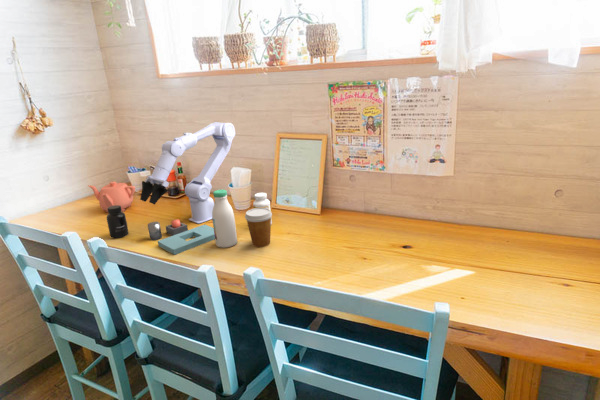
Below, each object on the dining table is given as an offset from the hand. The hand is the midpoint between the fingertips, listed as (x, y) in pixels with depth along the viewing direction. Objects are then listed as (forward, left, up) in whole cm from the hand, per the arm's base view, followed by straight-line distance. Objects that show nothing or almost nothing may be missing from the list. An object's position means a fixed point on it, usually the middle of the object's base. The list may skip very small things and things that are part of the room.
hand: (147, 202), depth 153 cm
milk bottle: (-14, +28, -15) cm, 35 cm away
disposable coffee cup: (-22, +38, -15) cm, 47 cm away
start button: (-8, +3, -13) cm, 16 cm away
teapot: (-4, -49, -15) cm, 51 cm away
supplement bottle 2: (-34, +25, -15) cm, 45 cm away
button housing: (-8, +3, -15) cm, 17 cm away
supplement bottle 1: (+8, -14, -15) cm, 22 cm away
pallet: (-7, +15, -15) cm, 22 cm away
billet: (0, +1, -15) cm, 15 cm away
